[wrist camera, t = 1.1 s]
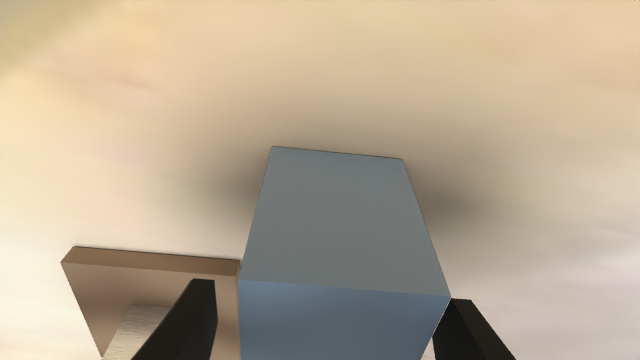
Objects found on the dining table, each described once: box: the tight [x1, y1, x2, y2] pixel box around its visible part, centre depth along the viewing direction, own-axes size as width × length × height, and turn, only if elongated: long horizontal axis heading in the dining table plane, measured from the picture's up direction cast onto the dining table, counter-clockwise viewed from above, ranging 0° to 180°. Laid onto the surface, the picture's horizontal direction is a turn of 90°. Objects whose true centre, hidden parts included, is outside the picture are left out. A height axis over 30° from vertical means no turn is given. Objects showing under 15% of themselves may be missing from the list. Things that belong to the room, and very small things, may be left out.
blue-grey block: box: [238, 146, 451, 360], centre depth 13 cm, size 5×5×7 cm
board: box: [60, 247, 240, 360], centre depth 19 cm, size 8×8×1 cm
